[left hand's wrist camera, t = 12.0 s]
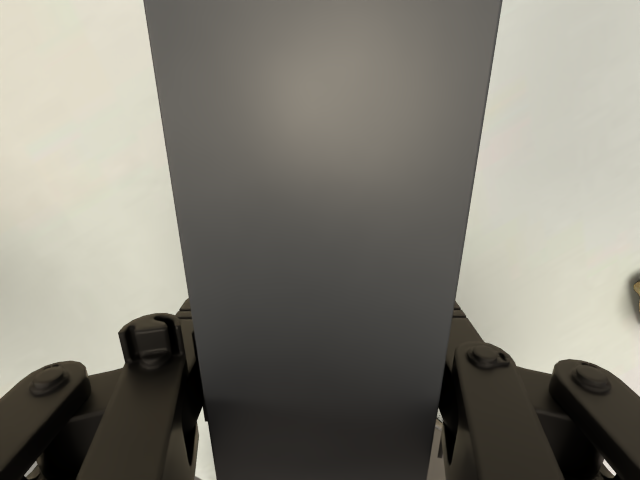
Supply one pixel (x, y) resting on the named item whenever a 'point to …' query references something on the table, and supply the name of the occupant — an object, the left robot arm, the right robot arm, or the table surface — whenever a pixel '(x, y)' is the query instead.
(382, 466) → the bar
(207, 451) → the table surface
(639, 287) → the sculpture
